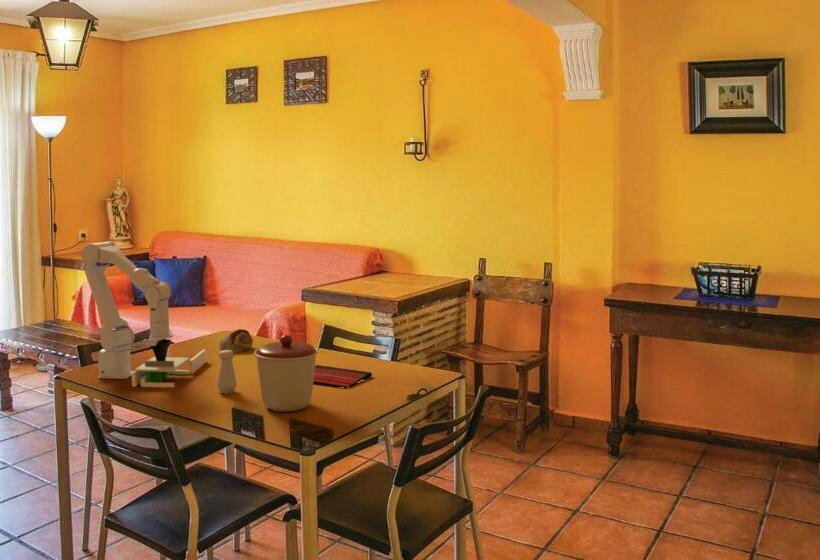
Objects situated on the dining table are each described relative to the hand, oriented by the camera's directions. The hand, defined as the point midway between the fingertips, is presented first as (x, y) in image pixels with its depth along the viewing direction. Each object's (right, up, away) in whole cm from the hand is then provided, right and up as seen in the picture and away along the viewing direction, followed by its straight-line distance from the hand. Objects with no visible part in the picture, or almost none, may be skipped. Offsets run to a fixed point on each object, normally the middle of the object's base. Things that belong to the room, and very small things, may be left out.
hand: (161, 362), depth 250 cm
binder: (+54, -7, +5) cm, 55 cm away
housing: (0, -5, +10) cm, 11 cm away
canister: (+44, -10, -24) cm, 51 cm away
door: (0, -1, +2) cm, 2 cm away
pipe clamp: (-2, -6, +3) cm, 7 cm away
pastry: (+14, 0, +46) cm, 48 cm away
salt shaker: (+24, -8, -10) cm, 27 cm away
